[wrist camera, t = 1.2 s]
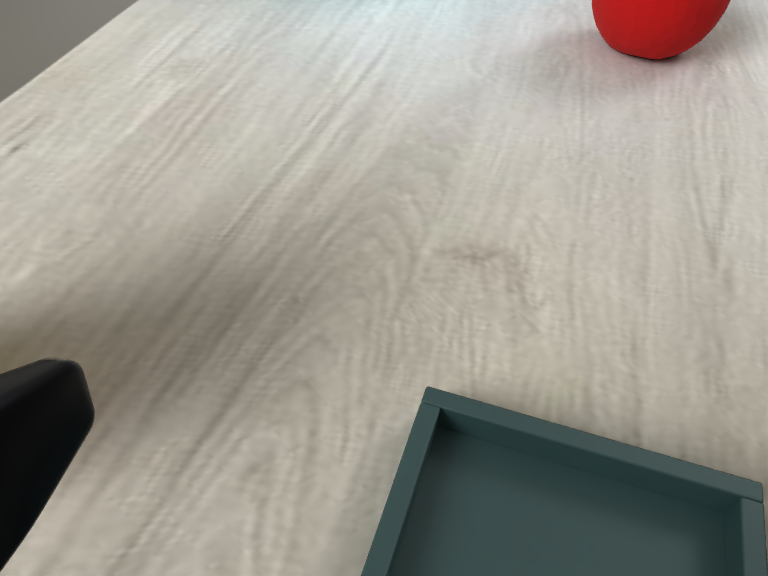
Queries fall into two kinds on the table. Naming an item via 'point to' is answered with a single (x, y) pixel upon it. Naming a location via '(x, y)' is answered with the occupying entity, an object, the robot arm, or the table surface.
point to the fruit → (656, 24)
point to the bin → (556, 503)
